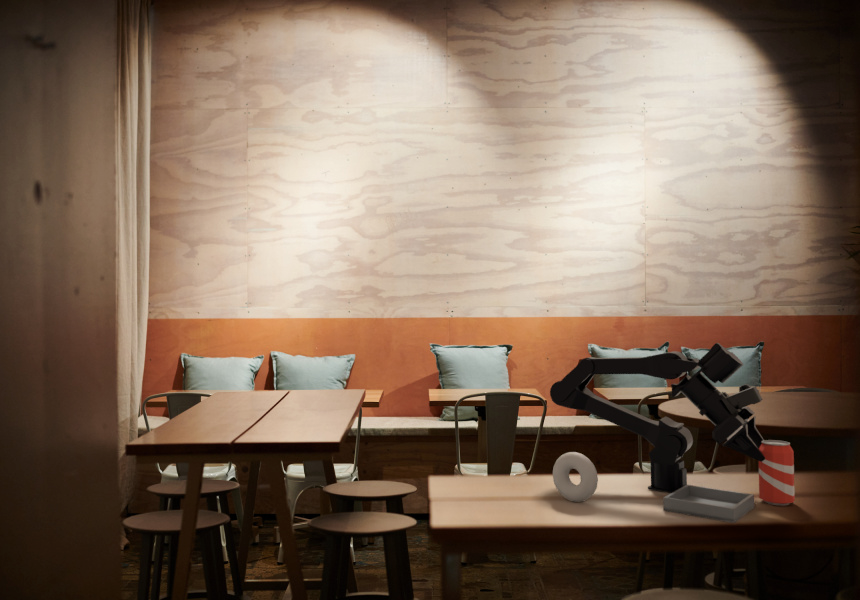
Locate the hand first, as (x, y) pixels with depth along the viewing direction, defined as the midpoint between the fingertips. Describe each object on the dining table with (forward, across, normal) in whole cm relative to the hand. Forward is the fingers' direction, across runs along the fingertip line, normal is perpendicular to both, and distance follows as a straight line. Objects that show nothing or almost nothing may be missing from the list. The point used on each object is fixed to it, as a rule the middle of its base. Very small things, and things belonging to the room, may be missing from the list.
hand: (766, 456), depth 139 cm
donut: (-17, -19, +30) cm, 40 cm away
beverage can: (+8, 0, +5) cm, 9 cm away
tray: (0, -12, +13) cm, 17 cm away
